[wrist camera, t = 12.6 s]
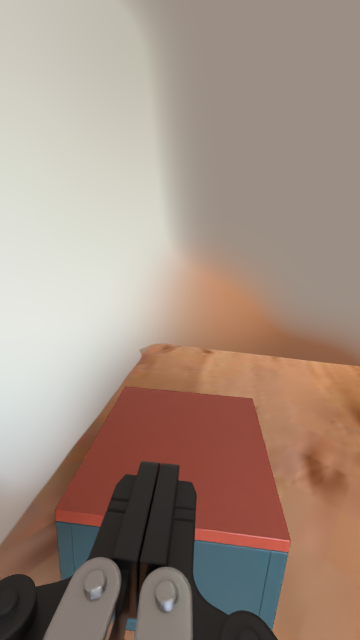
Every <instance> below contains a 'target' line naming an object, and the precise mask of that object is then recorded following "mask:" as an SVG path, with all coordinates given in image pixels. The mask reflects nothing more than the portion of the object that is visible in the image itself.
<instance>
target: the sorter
mask: <svg viewBox="0 0 360 640" xmlns="http://www.w3.org/2000/svg"><path fill="white" fill-rule="evenodd" d="M56 527H57V539H58V550H59V561H60V572H61V581H62V580H65V579H67V578H69V577H70V576H72V575H73V574H74V573H75V572H76V570H77V569H78V568H79V567H80V566H81V565H82V564H84V563H85V562H86V560H87V559H88V557H89V555H90V552H91V550H92V547H93V544H94V542H95V539H96V536H97V534H98V531H99V528H100V527H99V526H91V525H84V524H77V523H69V522H62V521H56ZM287 557H288V552H282V551H275V550H268V549H260V548H253V547H246V546H238V545H231V544H224V543H216V542H209V541H202V540H195V542H194V562H193V575H194V580H195V584H196V586H197V588H198V590H199V592H200V593H201V595H202V596H203V597H204V599H205V600H206V601H208V602H209V603H210V604H211V605H213V606H214V607H216V608H218V609H219V610H221V611H223V612H224V613H226V614H228V615H230V614H231V613H233V612H235V611H239V610H245V611H249V612H252V613H254V614H256V615H257V616H259V617H260V618H261V619H262V620H263V621H264V622H265V623H266V624H267V625H268V627H269V628H270V629H271V631H272V628H273V624H274V619H275V614H276V609H277V605H278V600H279V595H280V590H281V586H282V581H283V576H284V571H285V566H286V562H287ZM137 614H138V613H137ZM136 622H137V619H133V618H128V620H127V625H126V630H131V631H135V629H136Z"/></svg>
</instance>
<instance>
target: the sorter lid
mask: <svg viewBox="0 0 360 640" xmlns="http://www.w3.org/2000/svg"><path fill="white" fill-rule="evenodd" d="M141 461H149V462H158V463H160V466H161V463H167V464H176V465H180V471H179V480H181V481H189V482H192V483H193V486H194V488H195V491H196V493H197V502H196V521H195V540H202V541H209V542H216V543H224V544H231V545H238V546H246V547H253V548H260V549H268V550H275V551H282V552H289V547H290V543H291V540H290V536H289V533H288V529H287V525H286V521H285V518H284V514H283V510H282V507H281V503H280V499H279V495H278V492H277V488H276V484H275V481H274V477H273V473H272V469H271V466H270V462H269V458H268V455H267V451H266V447H265V443H264V440H263V436H262V432H261V429H260V425H259V421H258V417H257V414H256V410H255V406H254V403H253V399H251V398H241V397H230V396H220V395H209V394H199V393H188V392H178V391H168V390H157V389H147V388H136V387H125V388H124V389H123V391H122V393H121V395H120V396H119V398H118V400H117V402H116V403H115V405H114V407H113V409H112V410H111V412H110V414H109V416H108V418H107V419H106V421H105V423H104V425H103V426H102V428H101V430H100V432H99V433H98V435H97V437H96V439H95V440H94V442H93V444H92V446H91V447H90V449H89V451H88V453H87V454H86V456H85V458H84V460H83V461H82V463H81V465H80V467H79V468H78V470H77V472H76V474H75V475H74V477H73V479H72V481H71V482H70V484H69V486H68V488H67V489H66V491H65V493H64V495H63V497H62V498H61V500H60V502H59V504H58V505H57V507H56V509H55V516H56V521H62V522H69V523H77V524H84V525H91V526H99V527H100V526H101V523H102V521H103V518H104V515H105V513H106V511H107V507H108V505H109V502H110V500H111V497H112V494H113V492H114V489H115V486H116V484H117V483H118V482H119V481H120V480H121V479H122V478H123V476H124V475H125V474H131V475H137V473H138V470H139V466H140V463H141Z"/></svg>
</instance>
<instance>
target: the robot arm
mask: <svg viewBox="0 0 360 640" xmlns="http://www.w3.org/2000/svg"><path fill="white" fill-rule="evenodd" d="M179 471H180V465H176V464H167V463H161V466H160V463H158V462H149V461H141V463H140V466H139V470H138V473H137V475H131V474H125V475H124V476H123V478H122V479H121V480H120V481H119V482H118V483H117V484H116V486H115V489H114V492H113V494H112V497H111V500H110V502H109V505H108V507H107V511H106V513H105V515H104V518H103V521H102V523H101V526H100V528H99V531H98V534H97V536H96V539H95V542H94V544H93V547H92V550H91V552H90V555H89V557H88V559H87V560H86V562H85V563H84V564H82V565H81V566H80V567H79V568H78V569H77V570H76V572H75V573H74V574H73V575H72V576H70V577H69V578H67V579H65V580H62V581H59V582H55V583H51V584H46V585H42V586H38V587H36V586H35V583H34V582H33V580H32V579H31V578H30V577H28V576H26V575H23V574H16V575H11V576H8V577H6V578H4V579H2V580H0V640H123V639H124V634H125V630H126V625H127V620H128V618H133V619H137V622H136V629H135V637H134V640H278V639H277V638H276V636H275V635H274V634H273V632H272V631H271V629H270V628H269V627H268V625H267V624H266V623H265V622H264V621H263V620H262V619H261V618H260V617H259V616H257V615H256V614H254V613H252V612H249V611H245V610H239V611H235V612H233V613H231V614H230V615H228V614H226V613H224V612H223V611H221V610H219V609H218V608H216V607H214V606H213V605H211V604H210V603H209V602H208V601H206V600H205V599H204V597H203V596H202V595H201V593H200V592H199V590H198V588H197V586H196V584H195V580H194V575H193V562H194V542H195V521H196V502H197V493H196V491H195V488H194V486H193V483H192V482H189V481H181V480H179ZM137 613H138V614H137Z"/></svg>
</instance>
